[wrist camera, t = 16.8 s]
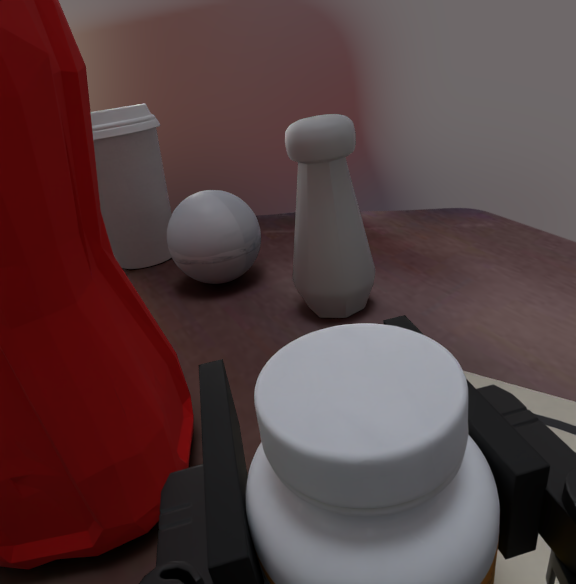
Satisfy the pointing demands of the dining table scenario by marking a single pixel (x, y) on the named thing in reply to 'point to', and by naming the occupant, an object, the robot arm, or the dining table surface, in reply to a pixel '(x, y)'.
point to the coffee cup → (132, 185)
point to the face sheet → (568, 427)
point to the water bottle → (71, 323)
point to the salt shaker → (328, 219)
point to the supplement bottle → (369, 464)
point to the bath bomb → (213, 236)
